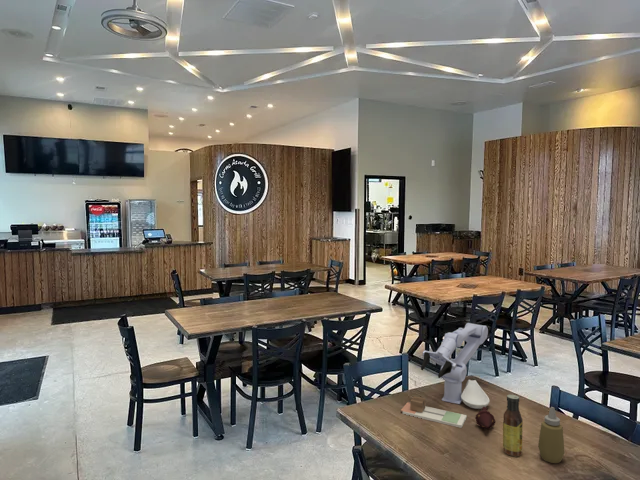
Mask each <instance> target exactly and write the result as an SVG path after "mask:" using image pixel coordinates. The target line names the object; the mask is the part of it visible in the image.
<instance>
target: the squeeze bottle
mask: <svg viewBox="0 0 640 480" xmlns="http://www.w3.org/2000/svg"><path fill="white" fill-rule="evenodd" d="M560 421H561V419H560V418H559V417H558V416H557V413H556V408H555V407H553V406H550V408H549V411H548V414H547V415H545V416H544V421H542V422H541V424H540V431H539V439H538V442H537V443H538V444H537V445H538V446H537V448H538V451H539V453H540V456H541V458H542V459H543V460H544V461H545V462H548V463H552V464H559V463H560V462H561V461H562V459H563V457H564V455H565V451H566V450H565V441H564V439H565V438H564V429H563V426H562V425H561V422H560Z"/></svg>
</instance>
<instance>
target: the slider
mask: <svg viewBox="0 0 640 480" xmlns="http://www.w3.org/2000/svg"><path fill="white" fill-rule="evenodd" d="M409 401H410V402H409V403H410V410H413V411H418V412H423V410H424V409H425V406H426V398H424V397H420V396H413V397H412V398H411V399H410V400H409Z"/></svg>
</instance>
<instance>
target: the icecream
mask: <svg viewBox="0 0 640 480" xmlns="http://www.w3.org/2000/svg"><path fill="white" fill-rule="evenodd" d="M475 421H476V424H477V426H479V427H480V428H482V429H485V430H486V429H487V430H488V429H489V430H490V429H492V427H494V426H495V424H496V419H495V417H494V415H493V414H492V413H491V412H490V411H488V408H487V406H486V407H483V408H481V410H480V411H478V412H477V414H476V415H475Z"/></svg>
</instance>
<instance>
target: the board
mask: <svg viewBox="0 0 640 480" xmlns="http://www.w3.org/2000/svg"><path fill="white" fill-rule="evenodd" d="M400 412H402V415H404V414H406V415H405V416H409V415H410V417H413V416H414V418H417V417H418V419H421V418H422V420H425V421H431V422H434V423H440V424H444V425H447V426H452V427H456V428H460V429H462V428H463V426H464V424H465V423H466V422H465V421H466V420H467V414H463V413H458V412H453V411H448V410H444V409H439V408H435V407H431V406H426V405H425V409H424V410H423V412H418V411H413V410H410V402H409V401H408V402H406V404H404V406H403V407H402V408H401V409H400Z"/></svg>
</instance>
